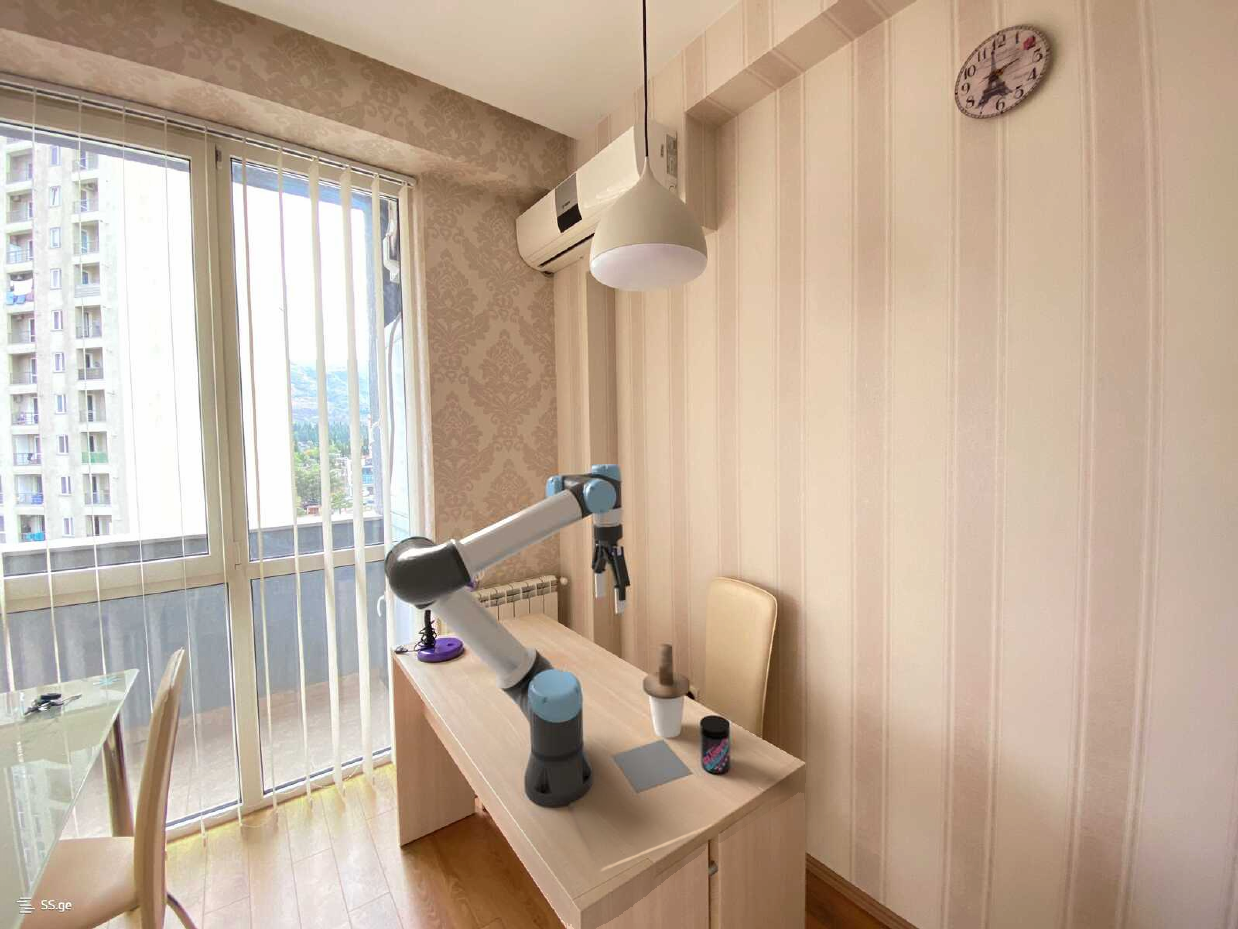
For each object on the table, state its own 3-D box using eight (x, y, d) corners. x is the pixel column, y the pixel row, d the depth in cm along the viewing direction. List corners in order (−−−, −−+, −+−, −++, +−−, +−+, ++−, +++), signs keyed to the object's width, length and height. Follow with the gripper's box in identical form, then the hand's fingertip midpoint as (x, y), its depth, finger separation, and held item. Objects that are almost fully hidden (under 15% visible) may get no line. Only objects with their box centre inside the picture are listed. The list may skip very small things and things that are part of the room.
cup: (683, 743, 126) (682, 697, 125) (647, 740, 127) (646, 694, 127) (686, 723, 134) (685, 679, 134) (652, 720, 136) (651, 677, 136)
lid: (656, 703, 122) (655, 661, 122) (635, 681, 133) (633, 643, 133) (699, 691, 127) (698, 651, 126) (674, 671, 138) (673, 634, 137)
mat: (636, 794, 109) (636, 792, 109) (611, 757, 121) (611, 755, 121) (692, 775, 114) (692, 773, 114) (662, 741, 127) (662, 739, 127)
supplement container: (695, 770, 116) (694, 726, 115) (708, 754, 121) (707, 712, 121) (723, 781, 112) (722, 735, 111) (735, 764, 117) (734, 720, 117)
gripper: (642, 530, 121) (644, 617, 123) (603, 515, 144) (605, 589, 146) (613, 533, 118) (616, 622, 120) (578, 518, 141) (581, 593, 143)
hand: (610, 604), depth 133 cm, fingers open, 13 cm apart
